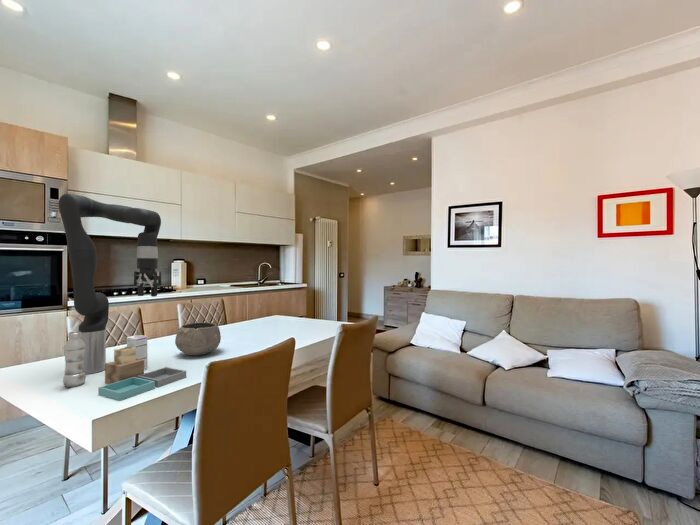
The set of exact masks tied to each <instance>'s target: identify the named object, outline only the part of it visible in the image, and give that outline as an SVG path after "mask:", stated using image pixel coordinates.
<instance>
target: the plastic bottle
mask: <svg viewBox="0 0 700 525" xmlns="http://www.w3.org/2000/svg"><path fill="white" fill-rule="evenodd" d="M80 337H81V332H80V331H71V332H68V335H67V338H68V340H66V342H65V343H64V345H63V348H62V349H63V355H64V362H65V363H64V364H65V365H64V366H65V367H64V375H63V378H62V379H63V380H62V383H63V385H64V387H66V388H73V387H79V386H82V385H84V383H85V381H86V374H85V372H84V360H83V359H84V352H85V343H84V341H83V340H82V339H81V338H80Z"/></svg>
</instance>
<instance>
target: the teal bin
mask: <svg viewBox="0 0 700 525" xmlns="http://www.w3.org/2000/svg"><path fill="white" fill-rule="evenodd" d="M155 389H156V387H155V381H151V380H146V379H142V378H137V377H132V378H128V379H125V380H122V381H119V382H115V383H112V384H105V385H102V386H99V387H98V395H97V396H100V397H104V398H107V399H111V400H115V401H118V402H120V401H123V400H124V401H125V400H127V399H129V398H132V397H136V396H137V395H141V394H144V393H146V392H149V391H152V390H155Z"/></svg>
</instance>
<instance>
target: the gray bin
mask: <svg viewBox="0 0 700 525" xmlns="http://www.w3.org/2000/svg"><path fill="white" fill-rule="evenodd" d="M137 378H142V379H146V380H151V381H155V388H160V387H164V386H166V385H168V384H169V385H170V384H172V383H174V382H177V381H179V380H182V379H186V378H187V370H183V369H179V368H172V367H167V366H166V367H165V366H164V367H162V368H159V369H156V370H151V371H149V372H144V374H142V375H138V376H137Z"/></svg>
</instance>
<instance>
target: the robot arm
mask: <svg viewBox="0 0 700 525" xmlns="http://www.w3.org/2000/svg"><path fill="white" fill-rule="evenodd" d="M58 210H59V213H60V217H61V221H62V224H63V228H64V232H65V238H66V243H67V249H68V250H67V251H68V257H69V258H68V260H69V263H70V270H71V277H72V284H73V286H72V287H73V306H74V309H75V311H76V313H78V314H79V315H81V316H83V317H84V318H83V320H82V322H81V323H80V324H79V325H78V331H80V332H81V337H80V338H81V339H82V340H83V341H84V343H85V352H84V359H83V360H84V372H85V375H87V374H88V375H89V374H95V373H100V372H103V371H105V363H107V362H106V360H107V357H106V356H107V350H106V349H107V348H106V347H107V342H106V341H107V337H106V336H107V333H106V332H107V330H106V329H107V324H108V321H109V310H110V305H109V304H110V303H109V298H108V297H107V295H106V294H104V293H103V292H96V289H95V285H94V282H95V278H94V277H95V275H96V274H95V273H96V271H97V267H98V262H99V260H98V258H99V257H98V253H97V248H96V245H95V243H94V241H93V240H92V239H91V237H90V235H89V234H88V233H87V232H86V230H85V228H84V226H83V223H82V219H81V218H103V219H107V220H110V221H113V222H119V223H125V224H132V225H136V226H141V227H144V228H143V232H139V233H138V235H137V250H136V269H137V271H136V270H135V271H133V272H134V273H133V285H134V286H136V287H137V297H142V296H145V284H146V283H148V284H149V285H150V296H151V297H154V298H155V297H157V296H158V287H160V286H162V272H161V271H160V270H159V271H157V270H156V269H158V268H159V263H158V262H159V252H158V251H159V250H158V235H159V232H160V229H161V227H162V226H161V224H162V219H161V216H160V214H159V213H158V212H156V211H154V210H150V209H145V208H140V207H139V208H138V207H131V206H127V205H121V204H114V203H113V204H111V203H110V204H109V203H104V202H100V201H98V200H95V199H92V198H89V197H87V196H84V195H78V194H75V193H67V192H66V193H64V194H62V195H61V196H60V197H59V199H58Z"/></svg>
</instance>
